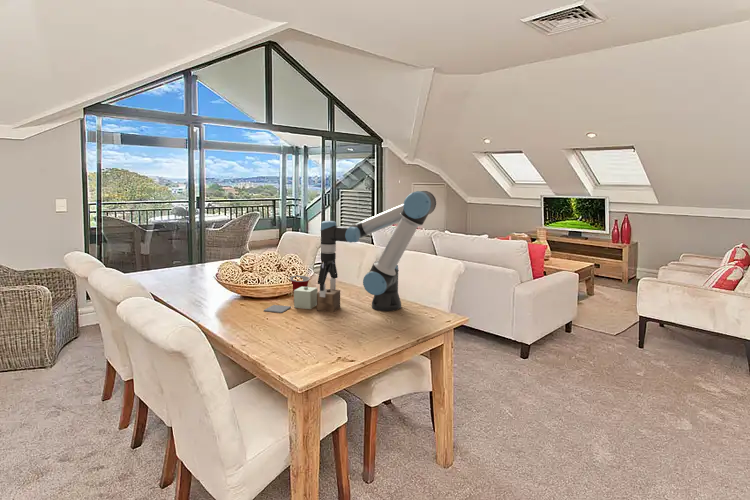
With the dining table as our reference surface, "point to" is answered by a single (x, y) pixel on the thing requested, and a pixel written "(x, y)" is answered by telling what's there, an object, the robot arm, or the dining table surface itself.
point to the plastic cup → (299, 282)
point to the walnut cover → (328, 300)
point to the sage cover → (305, 297)
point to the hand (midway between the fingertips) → (327, 293)
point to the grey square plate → (277, 308)
